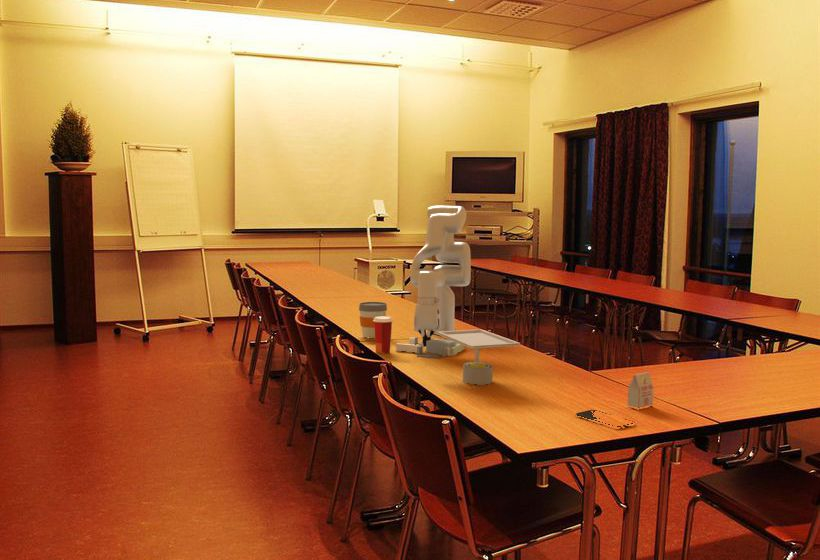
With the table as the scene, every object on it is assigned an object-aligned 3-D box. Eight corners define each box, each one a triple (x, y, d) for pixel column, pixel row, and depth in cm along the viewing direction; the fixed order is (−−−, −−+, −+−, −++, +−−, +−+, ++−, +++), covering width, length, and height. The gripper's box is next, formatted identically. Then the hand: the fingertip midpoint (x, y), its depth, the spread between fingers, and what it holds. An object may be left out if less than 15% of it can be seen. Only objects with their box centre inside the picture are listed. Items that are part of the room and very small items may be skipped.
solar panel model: (436, 374, 248) (436, 331, 246) (481, 370, 254) (481, 329, 252) (470, 393, 222) (471, 345, 221) (519, 389, 228) (520, 342, 226)
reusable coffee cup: (386, 339, 313) (386, 305, 312) (357, 339, 313) (357, 305, 312) (387, 334, 326) (387, 301, 324) (360, 334, 326) (360, 301, 324)
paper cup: (393, 350, 288) (393, 316, 287) (391, 354, 281) (391, 319, 280) (374, 350, 289) (374, 315, 288) (371, 353, 282) (371, 318, 280)
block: (433, 350, 291) (433, 338, 290) (455, 353, 286) (455, 341, 285) (426, 353, 286) (426, 340, 285) (448, 356, 281) (448, 343, 280)
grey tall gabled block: (627, 407, 208) (628, 373, 207) (641, 404, 212) (643, 371, 211) (638, 410, 205) (639, 376, 204) (652, 407, 209) (654, 373, 208)
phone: (593, 409, 203) (636, 422, 191) (593, 413, 203) (636, 426, 191) (573, 413, 198) (617, 427, 186) (573, 417, 199) (617, 431, 186)
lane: (415, 341, 308) (415, 335, 308) (469, 346, 299) (469, 339, 299) (389, 354, 281) (389, 346, 281) (447, 359, 273) (447, 351, 272)
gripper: (447, 301, 290) (446, 346, 291) (413, 299, 295) (412, 343, 297) (441, 303, 283) (440, 349, 284) (406, 301, 288) (406, 346, 290)
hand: (426, 346), depth 290 cm, fingers closed
